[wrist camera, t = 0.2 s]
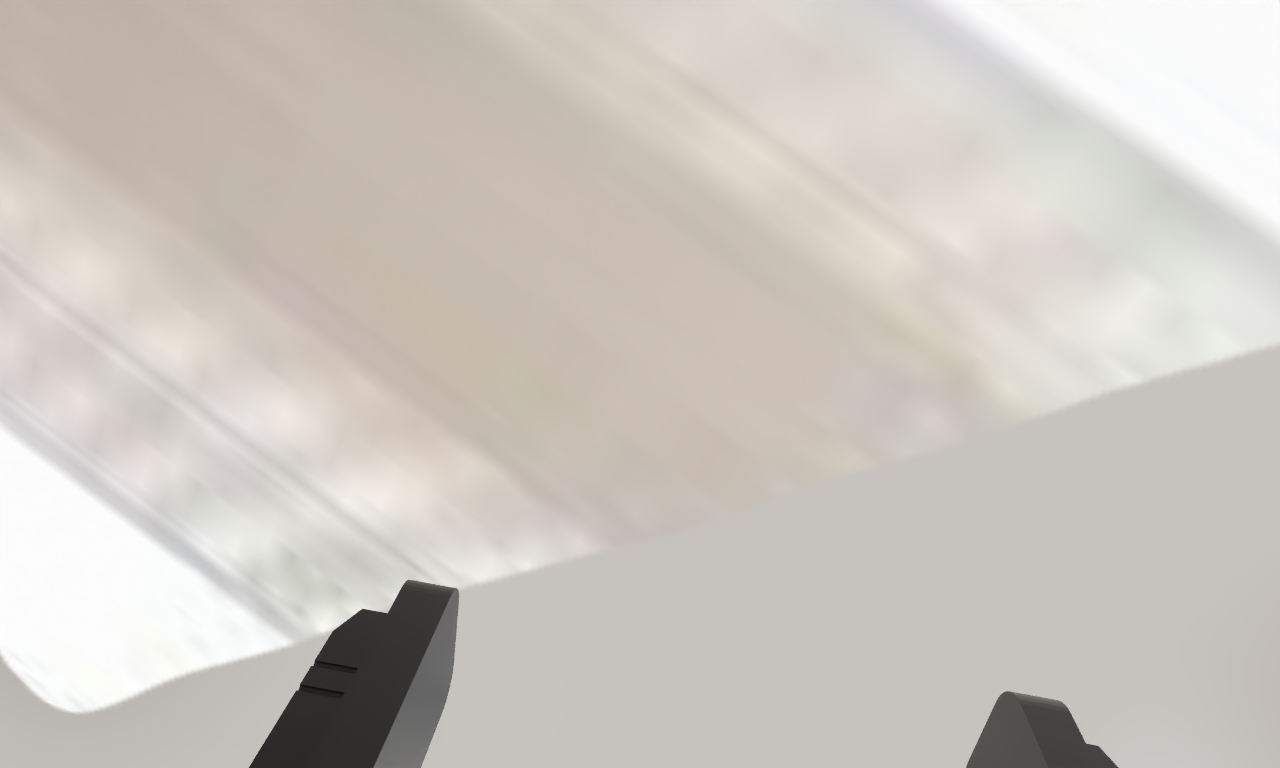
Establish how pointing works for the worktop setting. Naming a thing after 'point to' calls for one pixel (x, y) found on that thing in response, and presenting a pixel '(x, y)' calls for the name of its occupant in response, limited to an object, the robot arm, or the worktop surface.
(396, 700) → the robot arm
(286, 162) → the worktop surface
